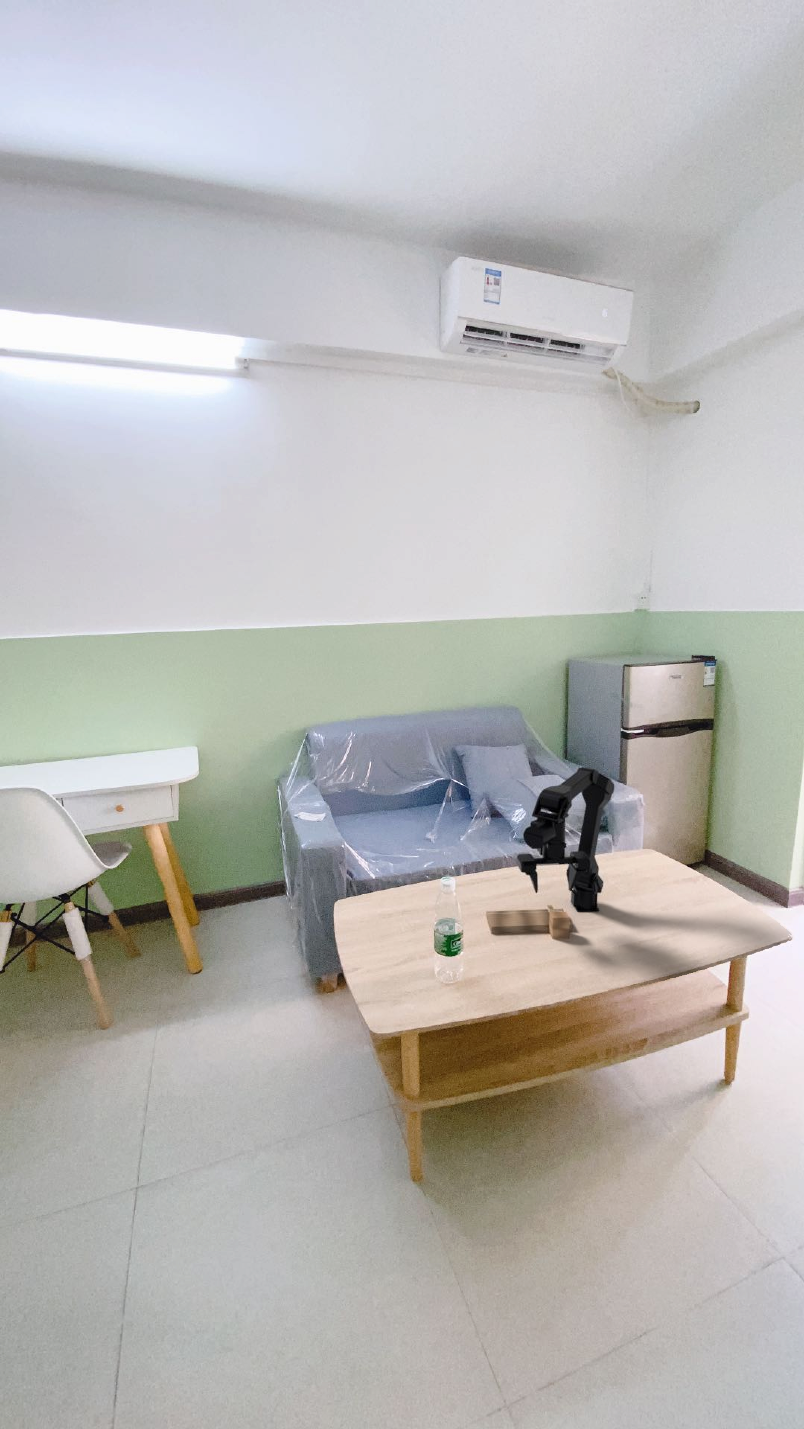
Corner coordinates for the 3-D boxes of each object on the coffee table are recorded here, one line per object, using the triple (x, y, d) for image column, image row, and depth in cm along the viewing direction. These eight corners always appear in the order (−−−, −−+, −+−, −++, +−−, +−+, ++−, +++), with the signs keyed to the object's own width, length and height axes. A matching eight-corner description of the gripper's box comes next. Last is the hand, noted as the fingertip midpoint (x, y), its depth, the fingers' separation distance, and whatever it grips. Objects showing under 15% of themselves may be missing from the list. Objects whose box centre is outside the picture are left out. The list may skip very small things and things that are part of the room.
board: (562, 915, 156) (562, 908, 155) (571, 930, 148) (571, 923, 148) (486, 917, 156) (486, 911, 155) (491, 933, 148) (491, 926, 147)
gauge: (557, 916, 155) (557, 897, 154) (569, 938, 145) (569, 917, 144) (541, 917, 155) (542, 898, 154) (552, 938, 144) (552, 918, 143)
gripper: (577, 823, 151) (576, 875, 153) (511, 826, 150) (511, 879, 153) (593, 839, 140) (591, 895, 143) (521, 842, 139) (521, 899, 142)
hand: (553, 891), depth 145 cm, fingers open, 9 cm apart
